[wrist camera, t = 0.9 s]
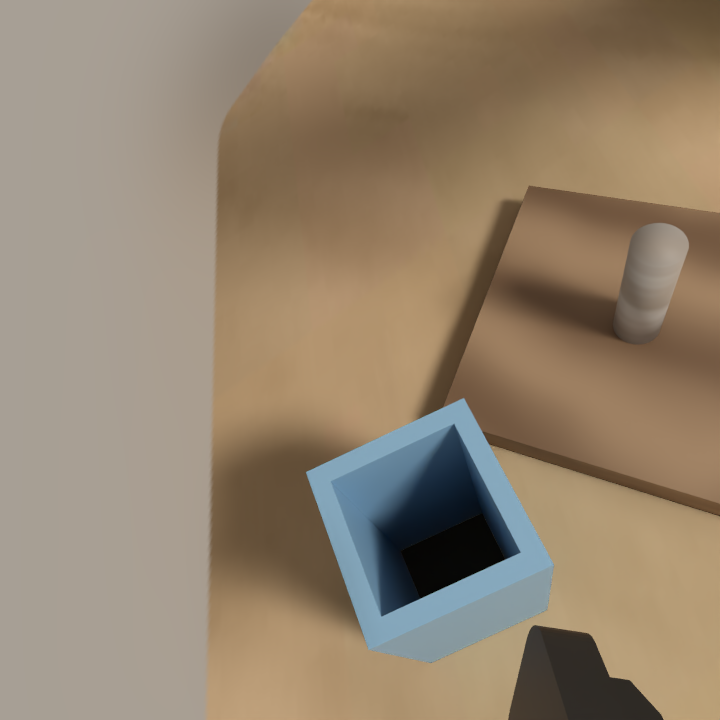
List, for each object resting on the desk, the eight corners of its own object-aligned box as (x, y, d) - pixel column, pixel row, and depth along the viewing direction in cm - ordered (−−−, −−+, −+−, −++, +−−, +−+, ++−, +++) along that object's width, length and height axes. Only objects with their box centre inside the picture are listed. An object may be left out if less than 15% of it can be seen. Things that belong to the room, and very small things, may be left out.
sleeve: (383, 544, 28) (305, 471, 19) (488, 495, 28) (463, 397, 18) (431, 662, 25) (368, 649, 16) (547, 609, 25) (553, 565, 16)
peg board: (529, 204, 35) (527, 94, 28) (824, 250, 29) (907, 126, 23) (443, 429, 30) (417, 358, 23) (777, 533, 24) (864, 479, 18)
